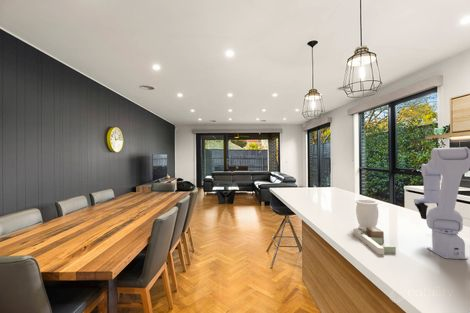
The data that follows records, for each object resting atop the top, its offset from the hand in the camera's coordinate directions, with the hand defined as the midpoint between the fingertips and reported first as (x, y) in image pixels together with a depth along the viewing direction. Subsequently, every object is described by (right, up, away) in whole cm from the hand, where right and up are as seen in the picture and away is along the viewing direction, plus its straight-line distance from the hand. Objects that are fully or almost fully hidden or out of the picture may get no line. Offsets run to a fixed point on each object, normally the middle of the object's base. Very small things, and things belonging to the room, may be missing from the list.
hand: (432, 218), depth 101 cm
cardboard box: (-26, -11, +2) cm, 28 cm away
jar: (-20, -11, +17) cm, 28 cm away
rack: (-29, -11, -2) cm, 31 cm away
